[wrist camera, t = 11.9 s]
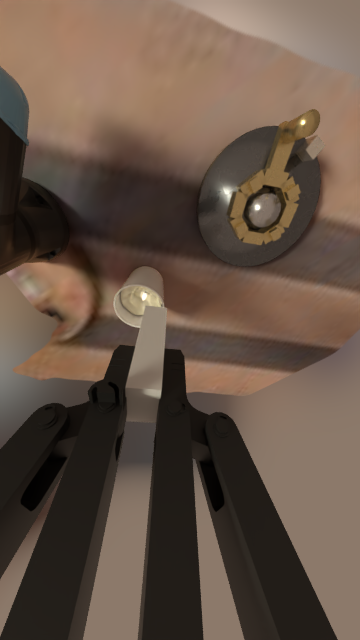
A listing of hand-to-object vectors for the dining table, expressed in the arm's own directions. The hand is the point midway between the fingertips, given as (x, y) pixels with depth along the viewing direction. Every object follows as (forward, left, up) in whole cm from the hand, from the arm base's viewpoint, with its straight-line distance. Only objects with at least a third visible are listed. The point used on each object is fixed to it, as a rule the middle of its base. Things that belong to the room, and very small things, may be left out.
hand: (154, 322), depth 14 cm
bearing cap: (+16, +7, -32) cm, 37 cm away
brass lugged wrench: (+16, +10, -29) cm, 35 cm away
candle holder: (-4, -12, -33) cm, 35 cm away
